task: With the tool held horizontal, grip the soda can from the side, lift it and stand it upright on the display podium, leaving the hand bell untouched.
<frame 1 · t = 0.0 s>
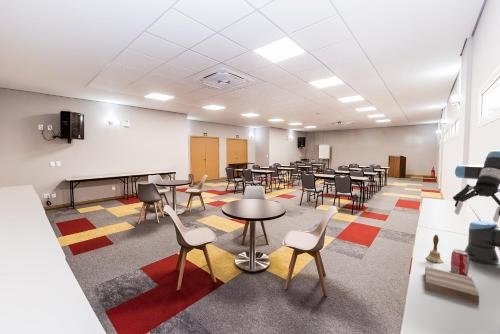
hand: (474, 216, 104), 36 cm above the table, tool tilted 35°, fingers open, 13 cm apart
podium: (448, 287, 109), on the table
soda can: (459, 273, 122), on the table
hand bell: (434, 260, 137), on the table
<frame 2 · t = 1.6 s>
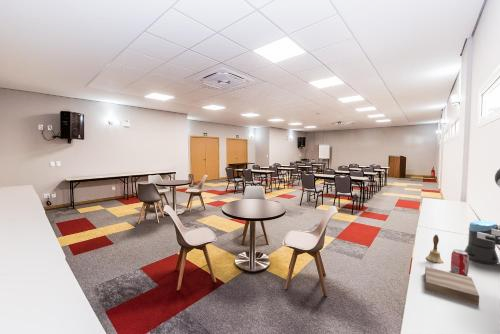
hand: (484, 233, 112), 25 cm above the table, tool horizontal, fingers open, 13 cm apart
nothing on the table moved.
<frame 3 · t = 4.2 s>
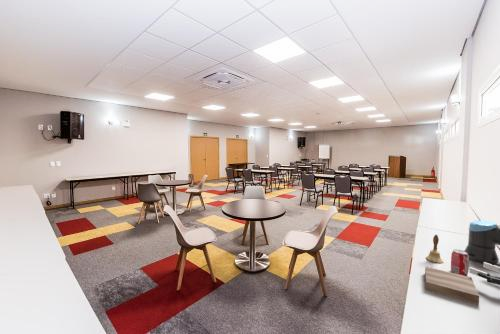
hand: (476, 267, 115), 7 cm above the table, tool horizontal, fingers open, 13 cm apart
nothing on the table moved.
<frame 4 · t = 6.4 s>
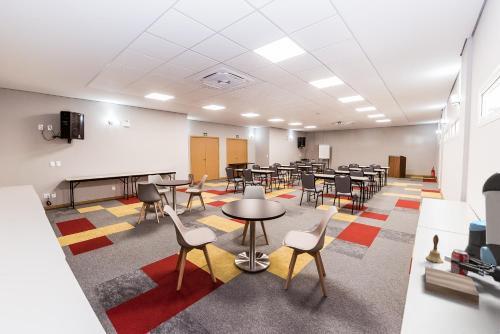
hand: (448, 256, 127), 7 cm above the table, tool horizontal, fingers closed on soda can, 7 cm apart
soda can: (459, 273, 122), on the table, touching gripper
everything else where it was.
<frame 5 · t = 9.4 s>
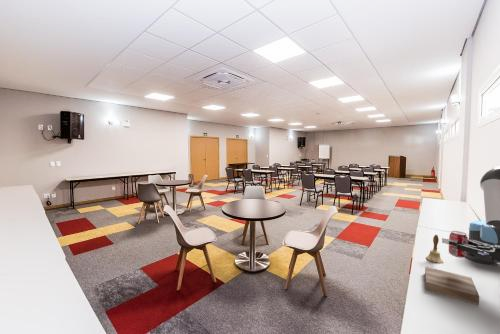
hand: (446, 238, 119), 20 cm above the table, tool horizontal, fingers closed on soda can, 7 cm apart
soda can: (457, 255, 115), point 13 cm above the table, touching gripper
everything else where it was.
when the fingers open (12 cm above the table, at t = 12.2 s): soda can drops 1 cm, resting on podium.
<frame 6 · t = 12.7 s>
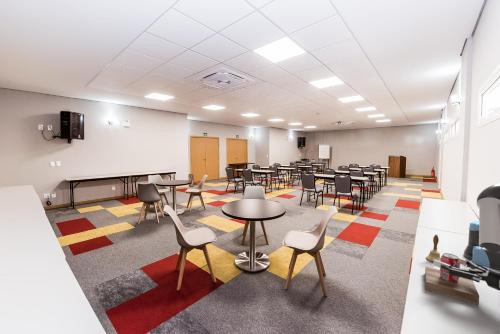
hand: (442, 259, 112), 12 cm above the table, tool horizontal, fingers open, 13 cm apart
soda can: (448, 279, 109), point 4 cm above the table, touching podium
everything else where it was.
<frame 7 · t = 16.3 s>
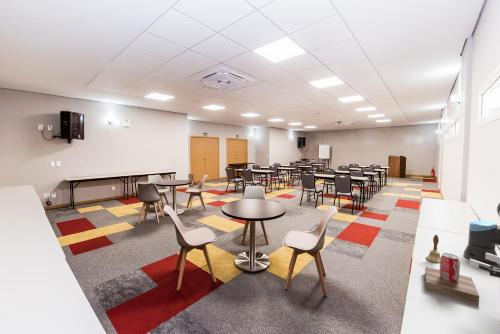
hand: (477, 258, 99), 19 cm above the table, tool horizontal, fingers open, 13 cm apart
nothing on the table moved.
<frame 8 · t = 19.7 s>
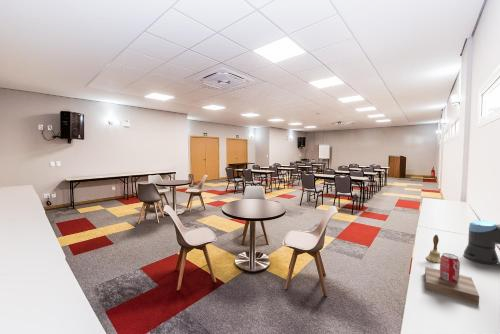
nothing on the table moved.
at the end: soda can inside the target area on the podium (0.2 cm from its centre), point 3.8 cm above the podium's base; soda can tilted 0°; the gripper is holding nothing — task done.
